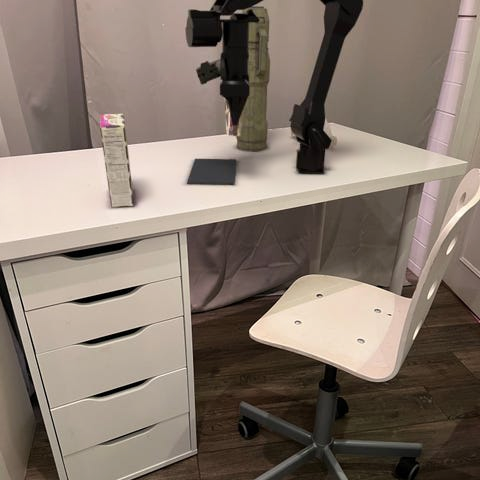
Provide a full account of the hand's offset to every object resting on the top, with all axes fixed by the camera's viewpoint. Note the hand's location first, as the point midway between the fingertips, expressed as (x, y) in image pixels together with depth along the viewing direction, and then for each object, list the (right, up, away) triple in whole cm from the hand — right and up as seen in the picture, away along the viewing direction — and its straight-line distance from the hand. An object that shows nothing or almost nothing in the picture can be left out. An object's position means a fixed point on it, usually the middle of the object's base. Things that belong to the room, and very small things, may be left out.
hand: (234, 123), depth 119 cm
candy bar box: (-24, -19, -7) cm, 32 cm away
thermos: (+5, +5, +32) cm, 32 cm away
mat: (-5, -8, +10) cm, 14 cm away
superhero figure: (+24, +8, +36) cm, 44 cm away
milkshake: (0, -2, +2) cm, 3 cm away
